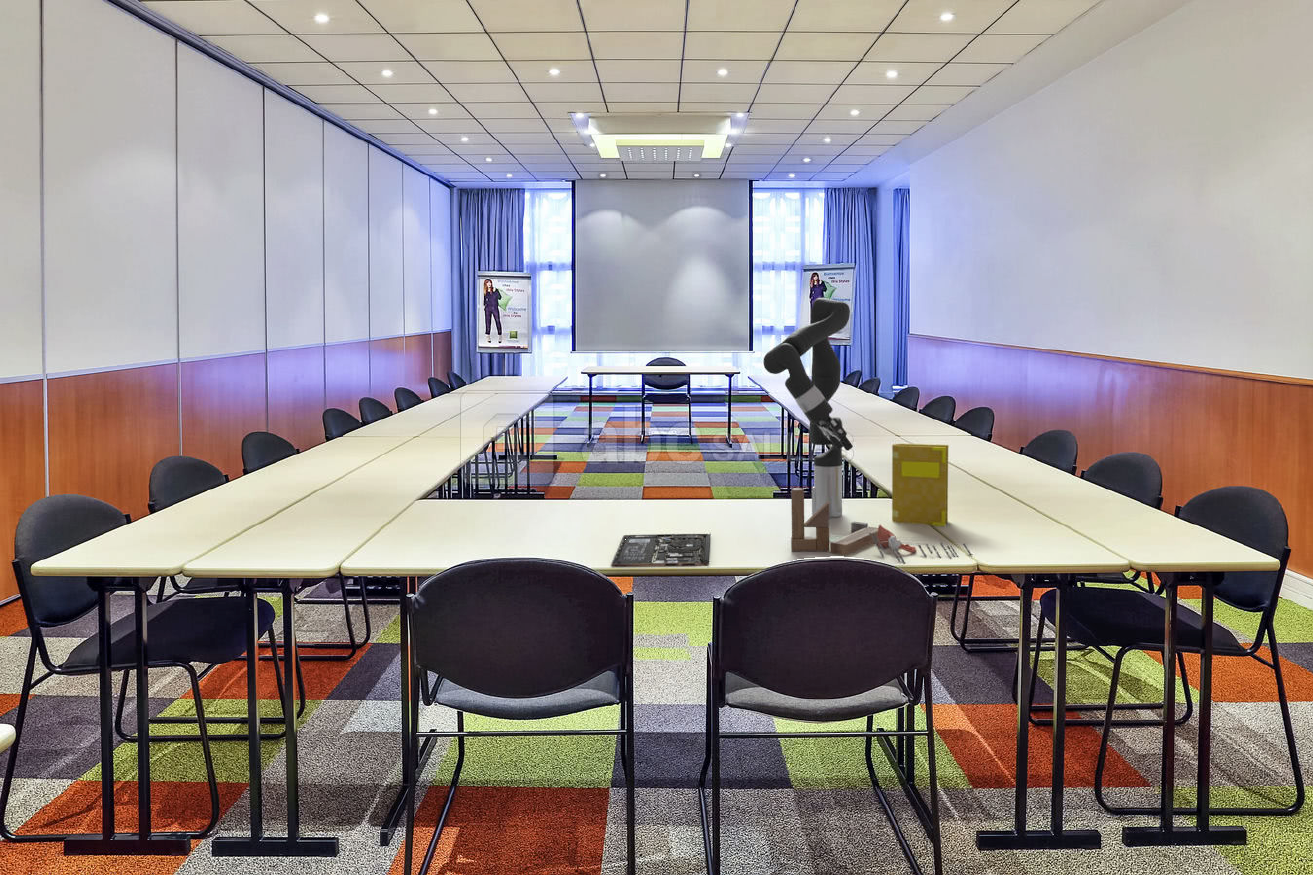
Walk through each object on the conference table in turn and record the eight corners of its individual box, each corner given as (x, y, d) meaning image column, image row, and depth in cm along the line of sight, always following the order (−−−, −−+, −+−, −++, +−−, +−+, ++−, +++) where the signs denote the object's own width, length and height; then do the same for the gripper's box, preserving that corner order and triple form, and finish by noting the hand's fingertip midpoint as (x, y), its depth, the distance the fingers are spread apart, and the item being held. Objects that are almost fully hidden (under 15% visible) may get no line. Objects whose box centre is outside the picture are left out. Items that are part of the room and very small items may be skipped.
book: (947, 521, 301) (948, 444, 298) (944, 526, 295) (945, 447, 292) (894, 518, 308) (894, 443, 305) (890, 522, 302) (890, 446, 299)
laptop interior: (622, 539, 293) (622, 533, 293) (711, 537, 291) (711, 531, 290) (608, 570, 258) (607, 563, 258) (709, 568, 256) (708, 561, 256)
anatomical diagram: (866, 523, 268) (950, 515, 271) (864, 548, 273) (946, 540, 275) (891, 567, 251) (980, 558, 253) (887, 593, 255) (975, 584, 258)
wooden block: (829, 551, 267) (829, 489, 265) (791, 551, 269) (790, 490, 266) (828, 548, 271) (828, 487, 269) (791, 548, 272) (790, 487, 270)
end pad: (810, 539, 282) (810, 538, 282) (823, 534, 288) (823, 533, 288) (846, 544, 275) (846, 543, 275) (858, 539, 281) (858, 538, 281)
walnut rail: (816, 550, 269) (816, 537, 268) (854, 534, 287) (854, 521, 287) (846, 555, 263) (846, 541, 262) (883, 538, 281) (883, 525, 281)
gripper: (830, 396, 266) (863, 441, 267) (816, 397, 280) (847, 440, 281) (810, 411, 265) (843, 457, 266) (796, 412, 279) (828, 455, 281)
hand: (845, 448), depth 274 cm, fingers open, 8 cm apart
